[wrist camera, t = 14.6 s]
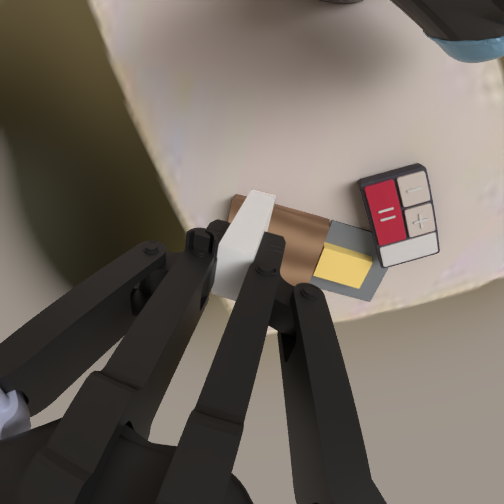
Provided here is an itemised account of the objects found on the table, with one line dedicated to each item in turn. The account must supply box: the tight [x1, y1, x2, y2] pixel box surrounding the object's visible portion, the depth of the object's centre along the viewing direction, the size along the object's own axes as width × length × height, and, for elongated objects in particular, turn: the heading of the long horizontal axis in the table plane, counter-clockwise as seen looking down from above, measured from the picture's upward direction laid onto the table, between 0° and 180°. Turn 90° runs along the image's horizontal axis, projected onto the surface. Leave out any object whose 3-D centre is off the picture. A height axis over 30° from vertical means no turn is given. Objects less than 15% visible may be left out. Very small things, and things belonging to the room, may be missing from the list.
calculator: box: [358, 163, 440, 268], centre depth 43 cm, size 11×4×15 cm
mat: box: [309, 220, 388, 302], centre depth 52 cm, size 14×13×1 cm
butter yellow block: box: [313, 242, 373, 289], centre depth 51 cm, size 6×9×2 cm, turn 78°
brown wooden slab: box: [228, 194, 330, 286], centre depth 52 cm, size 14×16×3 cm
